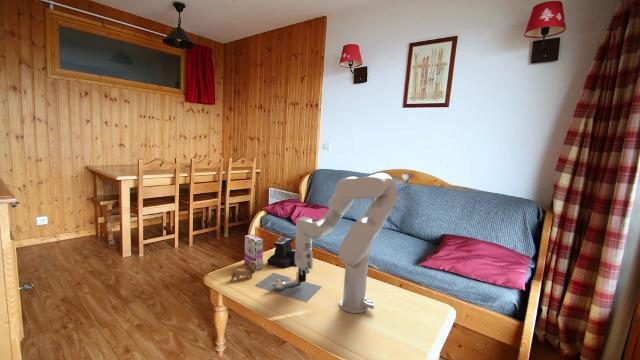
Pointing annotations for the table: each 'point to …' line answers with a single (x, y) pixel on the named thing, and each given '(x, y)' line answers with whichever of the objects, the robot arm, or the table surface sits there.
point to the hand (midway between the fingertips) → (302, 281)
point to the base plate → (290, 287)
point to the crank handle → (284, 283)
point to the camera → (283, 254)
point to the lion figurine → (245, 271)
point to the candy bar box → (253, 250)
